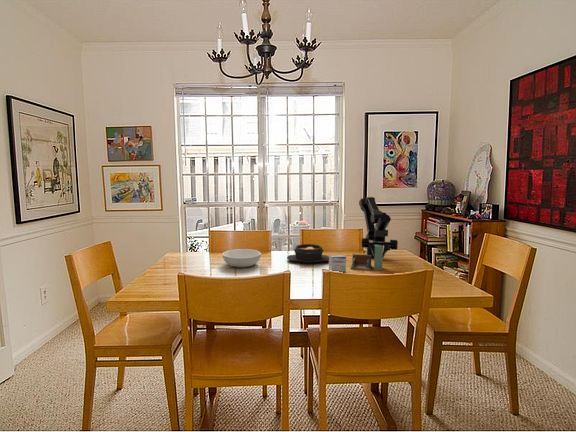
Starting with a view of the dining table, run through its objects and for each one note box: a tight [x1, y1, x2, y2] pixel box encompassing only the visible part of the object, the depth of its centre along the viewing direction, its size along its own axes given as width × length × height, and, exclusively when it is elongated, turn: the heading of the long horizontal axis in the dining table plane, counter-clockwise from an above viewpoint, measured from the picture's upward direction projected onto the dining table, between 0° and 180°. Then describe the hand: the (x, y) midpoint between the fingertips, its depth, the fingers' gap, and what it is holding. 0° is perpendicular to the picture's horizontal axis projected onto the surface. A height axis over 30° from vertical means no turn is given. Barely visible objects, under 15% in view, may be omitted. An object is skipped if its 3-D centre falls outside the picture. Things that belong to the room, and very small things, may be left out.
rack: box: [350, 253, 372, 271], centre depth 192 cm, size 10×10×6 cm
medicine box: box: [328, 254, 347, 272], centre depth 182 cm, size 8×4×9 cm, turn 101°
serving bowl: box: [222, 248, 262, 268], centre depth 195 cm, size 21×21×7 cm
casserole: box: [286, 243, 330, 264], centre depth 205 cm, size 25×19×8 cm
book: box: [373, 244, 384, 271], centre depth 189 cm, size 5×4×12 cm
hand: (378, 257), depth 187 cm, fingers closed on book, 4 cm apart
